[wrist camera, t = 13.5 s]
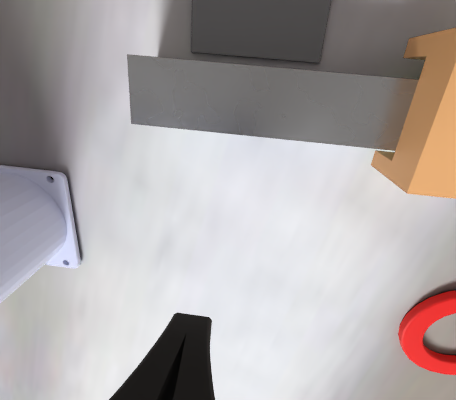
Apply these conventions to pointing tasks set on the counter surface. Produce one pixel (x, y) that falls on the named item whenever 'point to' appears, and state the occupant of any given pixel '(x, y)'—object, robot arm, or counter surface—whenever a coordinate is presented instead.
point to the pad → (260, 28)
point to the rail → (269, 101)
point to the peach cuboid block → (427, 123)
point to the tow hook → (417, 326)
